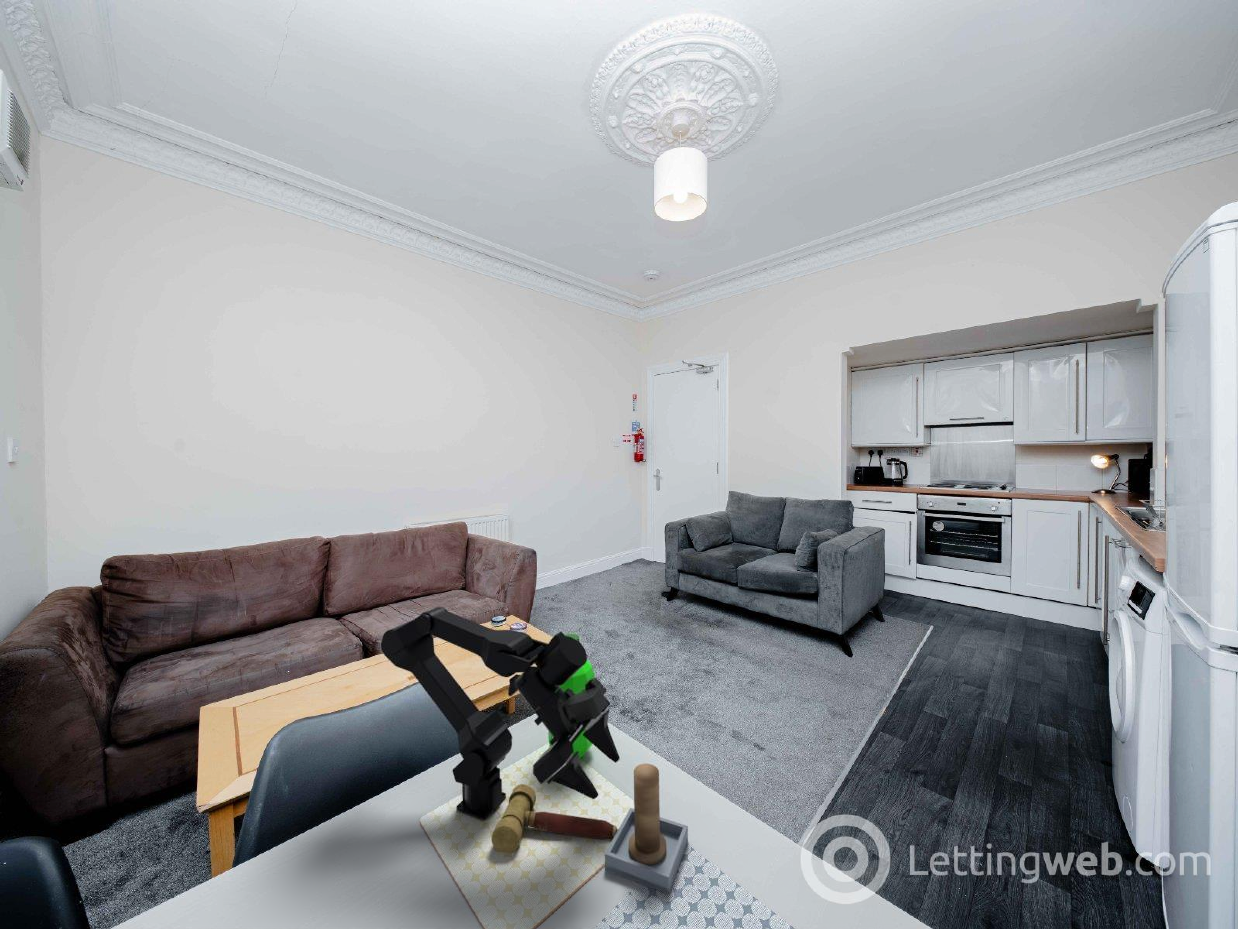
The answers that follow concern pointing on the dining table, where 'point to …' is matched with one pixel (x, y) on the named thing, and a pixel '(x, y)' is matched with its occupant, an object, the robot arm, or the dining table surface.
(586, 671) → the plastic bottle
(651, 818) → the walnut handle
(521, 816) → the gavel
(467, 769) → the robot arm
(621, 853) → the box
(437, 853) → the dining table surface
